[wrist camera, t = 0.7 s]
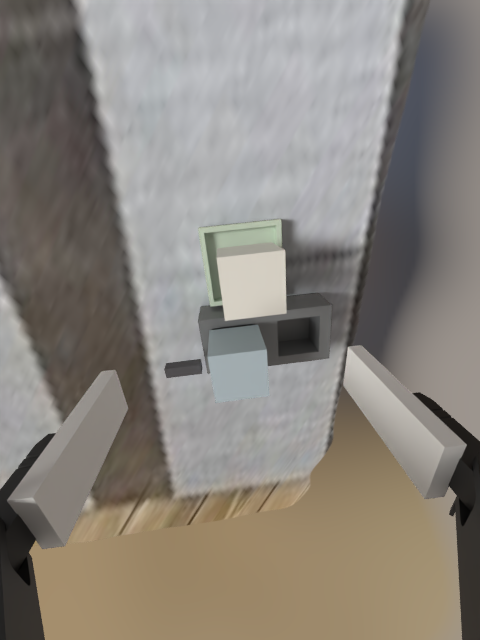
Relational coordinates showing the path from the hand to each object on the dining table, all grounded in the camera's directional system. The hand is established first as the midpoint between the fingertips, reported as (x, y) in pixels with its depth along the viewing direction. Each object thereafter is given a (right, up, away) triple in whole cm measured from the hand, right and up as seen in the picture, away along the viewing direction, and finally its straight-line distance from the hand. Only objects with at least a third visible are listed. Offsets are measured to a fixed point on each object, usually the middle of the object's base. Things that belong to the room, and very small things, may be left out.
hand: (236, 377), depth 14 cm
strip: (+1, +2, +23) cm, 23 cm away
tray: (+1, +11, +19) cm, 22 cm away
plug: (+1, +11, +18) cm, 21 cm away
